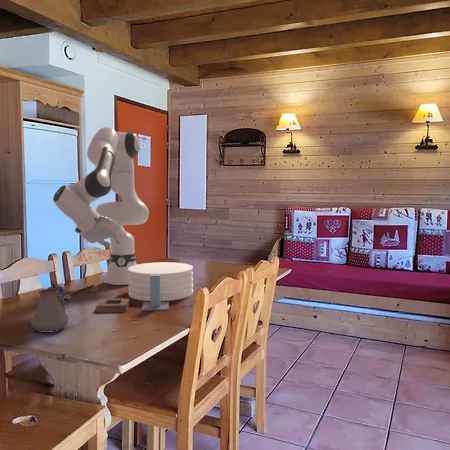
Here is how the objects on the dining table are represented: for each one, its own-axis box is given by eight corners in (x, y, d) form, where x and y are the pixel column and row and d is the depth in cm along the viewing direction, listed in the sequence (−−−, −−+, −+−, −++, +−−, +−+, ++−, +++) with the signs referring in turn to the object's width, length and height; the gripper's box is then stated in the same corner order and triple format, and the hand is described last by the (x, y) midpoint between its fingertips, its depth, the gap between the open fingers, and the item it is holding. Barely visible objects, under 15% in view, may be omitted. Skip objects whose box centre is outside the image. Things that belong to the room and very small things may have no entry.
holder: (101, 304, 181) (101, 298, 181) (129, 304, 182) (129, 298, 182) (96, 312, 170) (96, 306, 170) (126, 311, 171) (126, 305, 171)
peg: (151, 304, 179) (150, 274, 178) (160, 304, 179) (160, 274, 178) (150, 306, 175) (150, 276, 174) (160, 306, 176) (159, 275, 175)
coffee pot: (24, 334, 145) (22, 288, 143) (40, 323, 156) (39, 280, 155) (91, 335, 144) (90, 288, 142) (102, 324, 155) (101, 281, 154)
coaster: (143, 304, 182) (143, 302, 182) (168, 303, 183) (168, 302, 183) (141, 310, 172) (141, 309, 172) (168, 310, 173) (168, 308, 173)
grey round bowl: (77, 297, 193) (76, 285, 193) (56, 304, 182) (55, 291, 182) (55, 295, 198) (55, 283, 198) (33, 301, 187) (33, 288, 187)
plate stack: (156, 284, 220) (156, 260, 219) (205, 290, 206) (205, 265, 205) (114, 296, 196) (114, 269, 195) (166, 304, 182) (166, 276, 181)
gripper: (107, 209, 172) (133, 233, 178) (81, 220, 186) (105, 242, 192) (98, 221, 168) (124, 245, 174) (72, 231, 182) (97, 254, 188)
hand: (114, 244), depth 183 cm, fingers open, 8 cm apart
